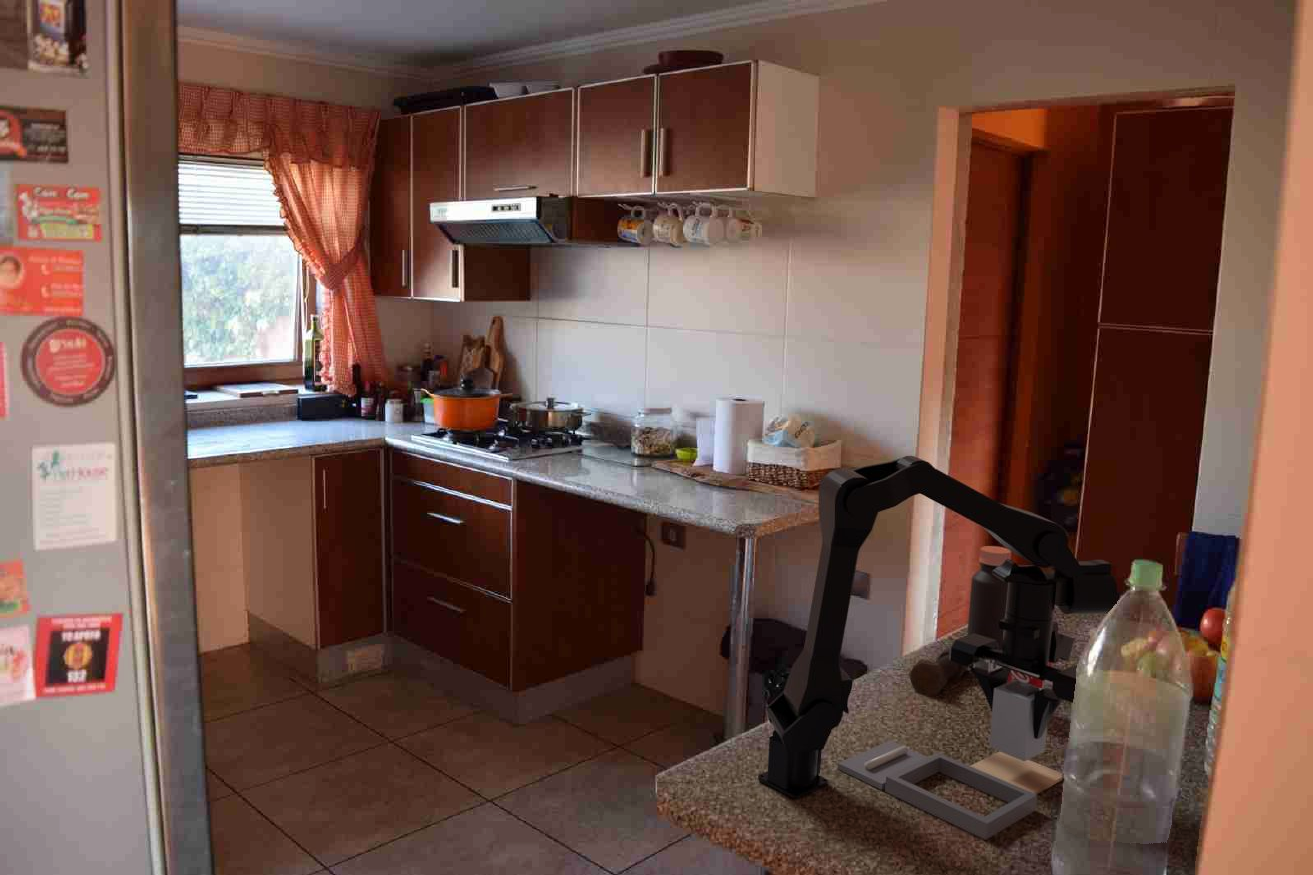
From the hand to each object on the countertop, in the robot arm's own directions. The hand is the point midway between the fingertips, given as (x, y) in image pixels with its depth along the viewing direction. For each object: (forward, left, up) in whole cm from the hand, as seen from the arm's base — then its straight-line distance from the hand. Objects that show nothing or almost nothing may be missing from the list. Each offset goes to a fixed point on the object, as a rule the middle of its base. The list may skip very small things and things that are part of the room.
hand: (1018, 730), depth 131 cm
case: (-12, +4, -6) cm, 14 cm away
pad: (0, 0, -6) cm, 6 cm away
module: (0, 0, -3) cm, 2 cm away
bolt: (+20, +24, -6) cm, 32 cm away
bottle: (+32, +24, -6) cm, 40 cm away
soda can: (+19, +10, -6) cm, 22 cm away
